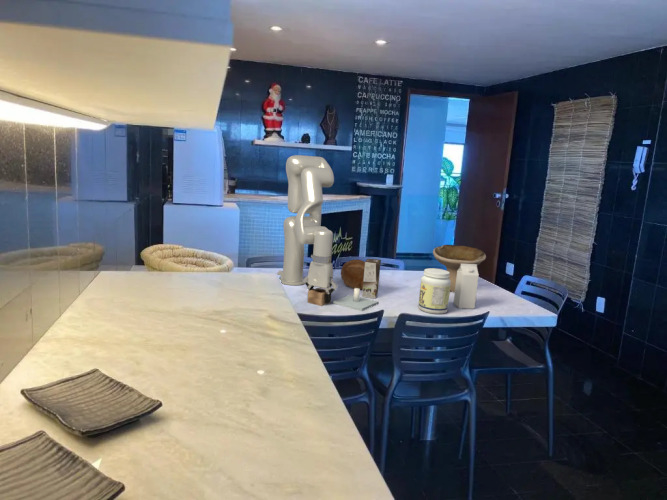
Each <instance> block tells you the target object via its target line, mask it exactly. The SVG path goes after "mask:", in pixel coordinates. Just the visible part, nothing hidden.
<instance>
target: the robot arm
mask: <svg viewBox="0 0 667 500" xmlns="http://www.w3.org/2000/svg"><path fill="white" fill-rule="evenodd" d="M285 172H286V176H287V182H288V188H287V209H288V211H289V212H290V213H292V214H296V215H295V216H294V215H292V216H289V217H286V218H285V219H284V221H283V225H282V226H283V234H284V235H283V236H284V243H283V244H284V245H283V246H284V248H283V267H282V268H283V269H282V270H278V272H277V273H276V275H277V276H280V278H279V279H280V280H281V282H282V283H281V284H283V285H288V286H301V285H304V284H305V286H306V287H307V288H306V289H307V291H309V290H312V289H315V287H316V288H321V289H325V290H326V292H327V294H326V295H325V303H328V304H330V303H329V302H330V301H331V302H332V294H333V293H334V292H335V291H336V289H337V288H338V286H339V284H337V282H336V281H335V280H334V269H333V268H334V267H333V263H332V254H333V253H332V252H333V238H334V233H333V231H332V230H330V229H328V228H327V227H326V226H321V225H322V224H321V223H322V208H323V203H324V197H323V196H324V195H323V188H331V187H333V184H334V183H335V176H334V175H335V174H334V172H333V169H332V168H331V166H330V164H329V163H328V162H327V160H326V159H325V158H324V157H321V156H311V155H303V154H299V155H298V154H297V155H296V154H295V155H291V156H289V157H288V158H287V160H286V162H285ZM306 214H308V215H309V216H306ZM305 245H313V253H312V254H311V255H310V258H312V260H311V261H310V263H309V268H308V272H307V274H308V275H306V276H305V277H304V265H305ZM303 277H304V278H303Z"/></svg>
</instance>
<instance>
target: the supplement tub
mask: <svg viewBox="0 0 667 500" xmlns="http://www.w3.org/2000/svg"><path fill="white" fill-rule="evenodd" d="M423 271H424V272H423V275H422V276H421V278H420V285H419V286H420V287H419V295H418V305H417V306H418V308H419V309H418V310H420V311H422V312H424V313H428V314H432V315H442V314H445V313H447V312H448V310H449V303H450V302H449V301H450V293H451V292H450V285H451V281H450V279H449V277H450V275H449V274H450V273H449V272H448V271H447V269H446V270H445V269H442V268H433V267H432V268H425V269H424V270H423Z"/></svg>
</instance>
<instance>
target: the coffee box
mask: <svg viewBox="0 0 667 500" xmlns="http://www.w3.org/2000/svg"><path fill="white" fill-rule="evenodd" d="M381 261H382V259H379V258H366V260H365V261H364V262H365V269H364V280H363V290H361V291H362V292H361V293H362V294H361V297H362V298H366V299H373V300H375V299H376V298H377V296H378V295H379V286H380V276H381V275H380V273H381V272H380V271H381Z"/></svg>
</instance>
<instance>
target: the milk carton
mask: <svg viewBox="0 0 667 500" xmlns="http://www.w3.org/2000/svg"><path fill="white" fill-rule="evenodd" d="M478 270H479V269H478V266H477V264H461V266H460V268H459V269H458V270H457V277H456V286H455V292H454V295H453V304H454V305H455V307H456V308H458V309H470V310H473V309H475V308H476V299H477V292H478V284H479V275H480V274H479V271H478Z"/></svg>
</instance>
